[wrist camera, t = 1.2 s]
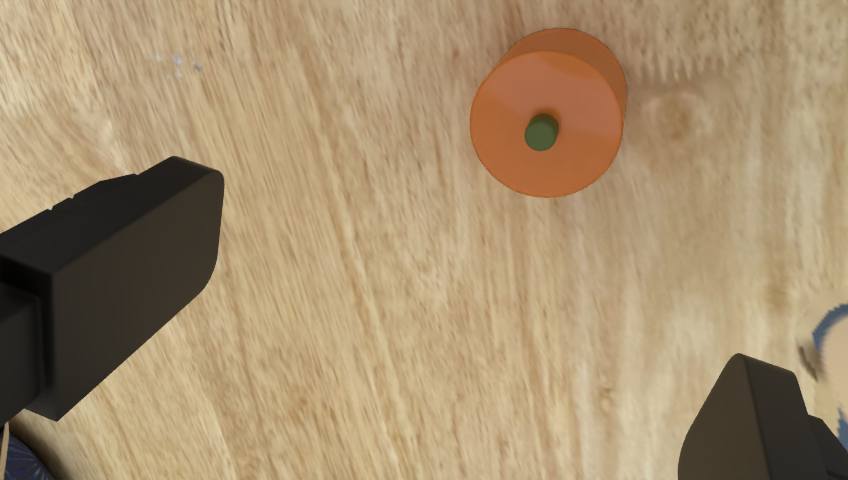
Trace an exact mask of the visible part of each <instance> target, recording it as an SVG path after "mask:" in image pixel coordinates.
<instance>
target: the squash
mask: <svg viewBox="0 0 848 480" xmlns="http://www.w3.org/2000/svg"><path fill="white" fill-rule="evenodd" d="M626 97H627V92H626V82H625V77H624V74H623V71H622V68H621V66H620V64H619V63H618V61H617V59H616V58H615V56H614V55H613V53H612V52H611V51H610V50H609V49H608V48H607V47H606V46H605V45H604V44H602V43H601V42H600V41H599V40H597V39H595V38H594V37H592V36H590V35H588V34H586V33H583V32H580V31H577V30H572V29H565V28H555V29H547V30H543V31H539V32H536V33H534V34H531V35H529V36H527V37H525V38H524V39H522V40H521V41H519V42H518V43H517V44H515V45H514V46H513V47H512V48H511V49H510V50H509V51H508V52H507V53H506V54H505V56H504V57H503V58H502V59H501V60H500V62H499V63H498V64H497V65H496V66H495V67H494V69H493V70H492V71H491V72H490V73H489V74H488V76H487V77H486V78H485V80H484V81H483V82H482V84H481V85H480V87H479V89H478V91H477V93H476V95H475V97H474V100H473V104H472V107H471V113H470V133H471V139H472V142H473V146H474V148H475V151H476V153H477V155H478V157H479V159H480V161H481V162H482V164H483V165H484V167H485V168H486V169H487V170H488V172H489V173H490V174H491V175H492V176H493V177H494V178H496V179H497V180H498V181H499V182H501V183H502V184H504V185H505V186H507V187H508V188H510V189H512V190H514V191H517V192H519V193H522V194H525V195H529V196H534V197H544V198H549V197H560V196H566V195H569V194H572V193H575V192H577V191H580V190H582V189H584V188H586V187H587V186H589V185H591V184H592V183H593V182H595V181H596V180H597V179H598V178H600V177H601V176H602V175H603V174H604V173H605V171H606V170H607V169H608V168H609V166H610V165H611V164H612V162H613V160H614V158H615V157H616V155H617V152H618V150H619V147H620V144H621V140H622V135H623V126H624V116H625V107H626Z"/></svg>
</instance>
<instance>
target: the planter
mask: <svg viewBox="0 0 848 480" xmlns="http://www.w3.org/2000/svg"><path fill="white" fill-rule="evenodd" d="M4 480H54V479H53V478H52V476H51V474H50V473H49V471H48V470H47V469H46V467H45V466H44V465H43V463H42V462H41V461H40V460H39V459H38V458H37V456H36V455H35V454H34V453H33V452H32V451H31V450H30V449H29V448H28V447H27V446H26V445H24V444H23V443H22V442H21V441H20V440H18V439H17V438H16V437H15V436H13V435H12V434H10V433H9V442H8V449H7V457H6V465H5V473H4Z"/></svg>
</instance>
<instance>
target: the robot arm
mask: <svg viewBox="0 0 848 480" xmlns="http://www.w3.org/2000/svg"><path fill="white" fill-rule="evenodd" d="M223 197H224V178H223V175H222V173H221V172H220V171H218V170H215V169H212V168H209V167H206V166H204V165H201V164H198V163H195V162H192V161H189V160H186V159H183V158H180V157H177V156H172V157H169V158H167V159H166V160H164V161H162V162H160V163H158V164H157V165H155V166H153V167H151V168H149V169H148V170H146V171H144V172H142V173H140V174H139V175H136V174H130V175H126V176H121V177H117V178H112V179H108V180H103V181H99V182H97V183H96V184H94V185H92V186H90V187H88V188H86V189H84V190H82V191H80V192H79V193H77V194H75V195H74V197H73V199H72V198H67V199H65V200H63V201H62V202H60V203H58V204H56V205H54V206H53V208H52V210H49V209H46V210H45V211H43V212H41V213H39V214H37V215H35V216H33V217H31V218H29V219H28V220H26V221H24V222H22V223H20V224H18V225H16V226H14V227H12V228H11V229H9V230H7V231H5V232H3V233H1V234H0V480H4V473H5V465H6V457H7V449H8V442H9V425H8V421H9V420H10V419H12V418H13V417H14V416H15V415H16V414H18V413H19V412H20V411H21V410H22V409H27V410H29V411H32V412H34V413H36V414H39V415H41V416H44V417H46V418H48V419H51V420H53V421H56V422H57V421H58V420H60V419H61V418H62V417H63V416H64V415H65V414H66V413H67V412H68V411H69V410H71V409H72V408H73V407H74V406H75V405H76V404H77V403H78V402H79V401H81V400H82V399H83V398H84V397H85V396H86V395H87V394H88V393H89V392H91V391H92V390H93V389H94V388H95V387H96V386H97V385H98V384H99V383H101V382H102V381H103V380H104V379H105V378H106V377H107V376H108V375H109V374H111V373H112V372H113V371H114V370H115V369H116V368H117V367H118V366H119V365H121V364H122V363H123V362H124V361H125V360H126V359H127V358H128V357H129V356H131V355H132V354H133V353H134V352H135V351H136V350H137V349H138V348H139V347H141V346H142V345H143V344H144V343H145V342H146V341H147V340H148V339H149V338H151V337H152V336H153V335H154V334H155V333H156V332H157V331H158V330H159V329H161V328H162V327H163V326H164V325H165V324H166V323H167V322H168V321H169V320H171V319H172V318H173V317H174V316H175V315H176V314H177V313H178V312H179V311H181V310H182V309H183V308H184V307H185V306H186V305H187V304H188V303H189V302H191V301H192V300H193V299H194V298H195V297H196V296H197V295H198V294H199V293H200V292H201V291H202V290H203V289H204V288H205V286H206V285H207V283H208V281H209V280H210V278H211V275H212V273H213V271H214V268H215V265H216V261H217V255H218V245H219V236H220V226H221V216H222V207H223ZM678 480H848V453H847V450H846V449H845V448H844V447H843V445H842V444H841V443H840V442H839V440H838V439H837V438H836V436H835V435H834V434H833V433H832V431H831V430H830V429H829V428H828V426H827V425H826V424H825V423H824V421H823V420H822V419H820V418H817V417H814V416H811V415H808V413H807V410H806V406H805V403H804V400H803V397H802V394H801V391H800V387H799V384H798V381H797V378H796V376H795V374H794V373H793V372H792V371H789V370H786V369H784V368H781V367H778V366H775V365H772V364H769V363H766V362H763V361H761V360H758V359H755V358H752V357H749V356H746V355H743V354H740V353H737V354H735V355H734V356H732V357H731V359H730V360H729V361H728V362H727V364H726V365H725V367H724V369H723V371H722V372H721V374H720V376H719V378H718V379H717V381H716V383H715V385H714V387H713V388H712V390H711V392H710V394H709V395H708V397H707V399H706V401H705V402H704V404H703V406H702V408H701V410H700V411H699V413H698V415H697V417H696V418H695V420H694V422H693V424H692V425H691V427H690V429H689V431H688V433H687V435H686V437H685V440H684V443H683V446H682V449H681V453H680V458H679V463H678Z"/></svg>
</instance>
